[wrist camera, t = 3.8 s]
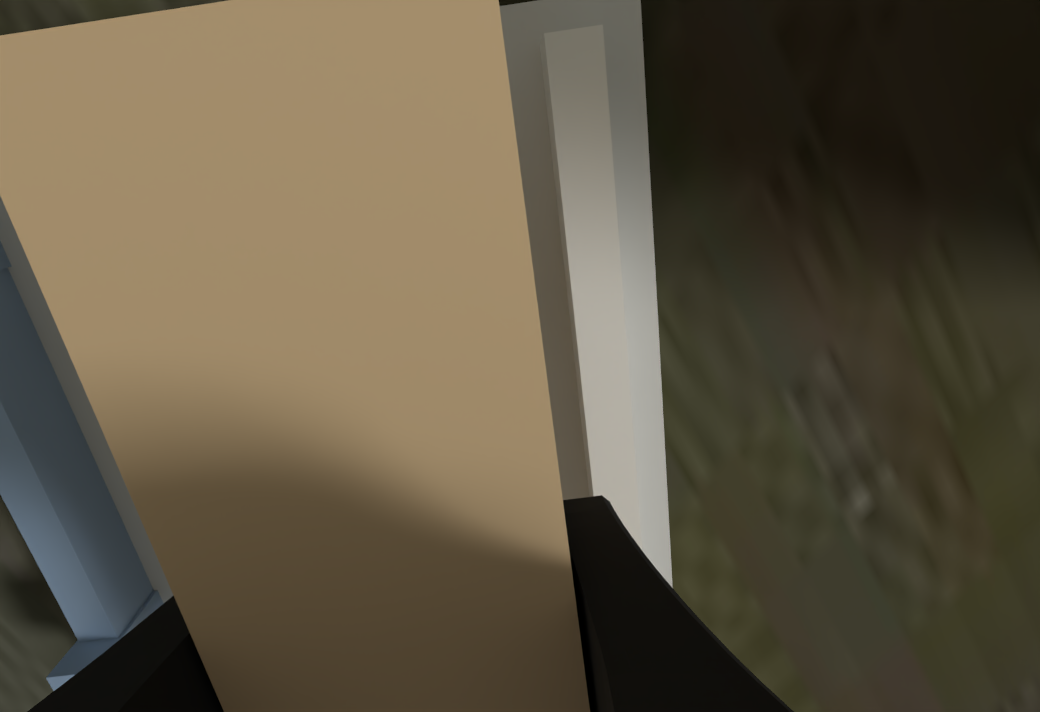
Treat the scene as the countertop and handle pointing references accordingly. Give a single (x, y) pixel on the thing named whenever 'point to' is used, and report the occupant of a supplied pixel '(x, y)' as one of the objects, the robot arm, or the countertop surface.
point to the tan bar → (310, 339)
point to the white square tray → (562, 312)
